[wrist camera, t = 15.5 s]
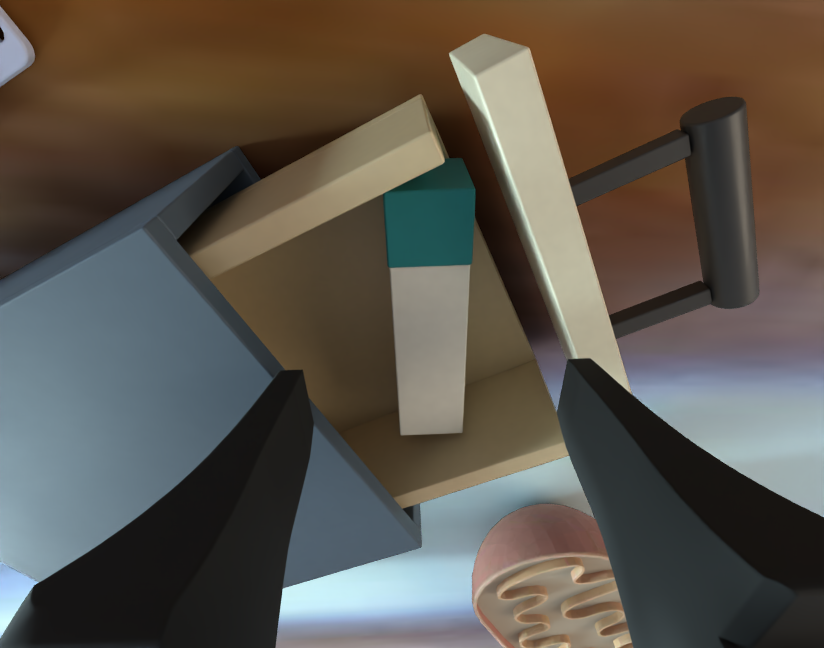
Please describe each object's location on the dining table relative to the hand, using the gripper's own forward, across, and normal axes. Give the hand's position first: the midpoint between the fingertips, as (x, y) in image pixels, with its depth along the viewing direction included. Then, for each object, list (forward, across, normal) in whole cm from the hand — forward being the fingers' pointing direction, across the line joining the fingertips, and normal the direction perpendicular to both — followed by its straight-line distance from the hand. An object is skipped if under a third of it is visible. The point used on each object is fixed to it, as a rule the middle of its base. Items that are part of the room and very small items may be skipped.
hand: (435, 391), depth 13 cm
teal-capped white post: (+6, 0, 0) cm, 6 cm away
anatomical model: (+8, -10, +24) cm, 27 cm away
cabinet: (+8, +10, +4) cm, 13 cm away
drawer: (+7, -1, 0) cm, 7 cm away
